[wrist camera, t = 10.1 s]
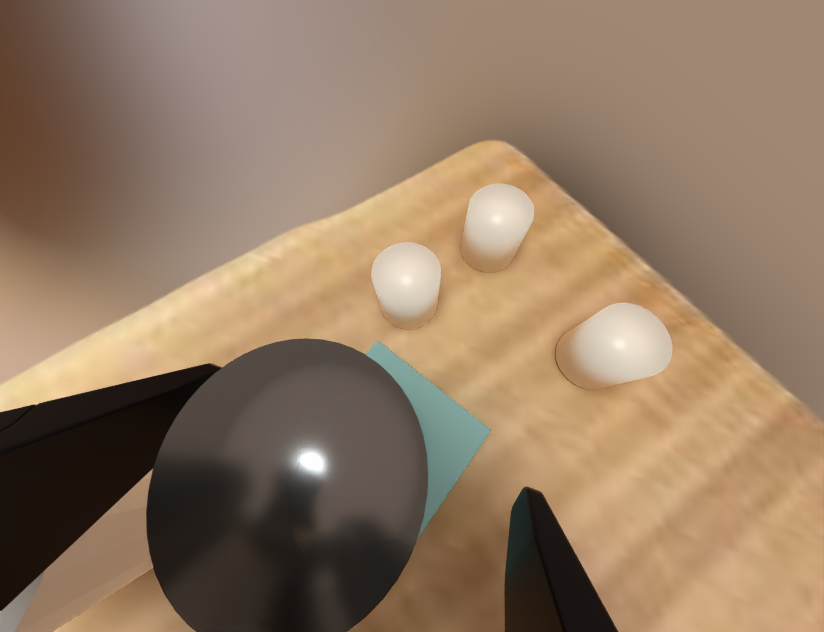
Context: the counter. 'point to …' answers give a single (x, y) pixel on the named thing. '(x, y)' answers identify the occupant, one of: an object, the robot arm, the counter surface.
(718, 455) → the counter surface
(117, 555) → the white cylinder
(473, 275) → the counter surface
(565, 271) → the counter surface
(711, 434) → the counter surface
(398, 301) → the cylinder
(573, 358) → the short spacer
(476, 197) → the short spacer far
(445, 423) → the teal pad
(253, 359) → the dark metallic domed cylinder
